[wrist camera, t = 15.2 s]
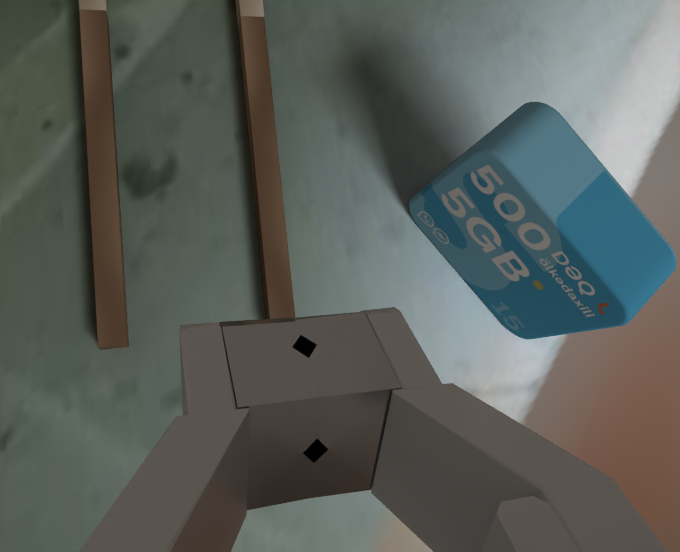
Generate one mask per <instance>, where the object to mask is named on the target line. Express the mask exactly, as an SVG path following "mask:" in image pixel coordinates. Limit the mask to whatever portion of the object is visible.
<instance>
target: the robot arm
mask: <svg viewBox="0 0 680 552" xmlns="http://www.w3.org/2000/svg"><path fill="white" fill-rule="evenodd" d="M179 334H180V359H181V384H182V404H183V416H178V417H176V418H175V419H174V421H173V422H172V423H171V425H170V426H169V428H168V429H167V430H166V432H165V433H164V434H163V436H162V437H161V439H160V440H159V441H158V443H157V444H156V446H155V447H154V448H153V450H152V451H151V452H150V454H149V455H148V457H147V458H146V459H145V461H144V462H143V464H142V465H141V466H140V468H139V469H138V470H137V472H136V473H135V475H134V476H133V477H132V479H131V480H130V482H129V483H128V484H127V486H126V487H125V489H124V490H123V491H122V493H121V494H120V495H119V497H118V498H117V500H116V501H115V502H114V504H113V505H112V507H111V508H110V509H109V511H108V512H107V513H106V515H105V516H104V518H103V519H102V520H101V522H100V523H99V525H98V526H97V527H96V529H95V530H94V531H93V533H92V534H91V536H90V537H89V538H88V540H87V541H86V543H85V544H84V545H83V547H82V548H81V550H80V551H79V552H231V550H232V547H233V545H234V543H235V540H236V538H237V536H238V533H239V531H240V529H241V526H242V524H243V522H244V519H245V517H246V515H247V510H251V509H256V508H261V507H266V506H271V505H277V504H282V503H287V502H292V501H297V500H302V499H308V498H314V497H322V496H329V495H336V494H344V493H351V492H358V491H366V490H372V492H371V493H372V494H373V495H374V496H375V497H376V498H377V499H378V500H380V501H381V502H382V503H383V504H384V505H385V506H386V507H387V508H388V509H389V510H390V511H391V512H392V513H393V514H394V515H395V516H396V517H398V518H399V519H400V520H401V521H402V522H403V523H404V524H405V525H406V526H407V527H408V528H409V529H410V530H411V531H412V532H413V533H415V534H416V535H417V536H418V537H419V538H420V539H421V540H422V541H423V542H424V543H425V544H426V545H427V546H428V547H429V548H430V549H432V550H433V551H434V552H667V550H666V549H665V548H664V546H663V545H662V544H661V542H660V541H659V540H658V538H657V537H656V535H655V534H654V533H653V531H652V530H651V529H650V527H649V526H648V525H647V523H646V522H645V521H644V519H643V518H642V517H641V515H640V514H639V513H638V511H637V510H636V509H635V507H634V506H633V505H632V503H631V502H630V501H629V499H628V498H627V497H626V495H625V494H624V493H623V491H622V490H621V489H620V487H619V486H618V484H617V483H616V482H615V480H614V479H613V478H611V477H609V476H607V475H606V474H604V473H602V472H601V471H599V470H597V469H596V468H594V467H592V466H591V465H589V464H587V463H586V462H584V461H582V460H581V459H579V458H577V457H575V456H574V455H572V454H570V453H569V452H567V451H565V450H564V449H562V448H560V447H558V446H557V445H555V444H553V443H552V442H550V441H548V440H547V439H545V438H544V437H542V436H540V435H538V434H537V433H535V432H533V431H532V430H530V429H528V428H527V427H525V426H523V425H522V424H520V423H518V422H517V421H515V420H513V419H512V418H510V417H508V416H507V415H505V414H503V413H502V412H500V411H498V410H496V409H495V408H493V407H491V406H490V405H488V404H486V403H485V402H483V401H481V400H480V399H478V398H476V397H475V396H473V395H471V394H470V393H468V392H466V391H464V390H463V389H461V388H459V387H458V386H456V385H454V384H453V383H451V384H442V383H441V381H440V379H439V378H438V376H437V374H436V372H435V371H434V369H433V367H432V365H431V364H430V362H429V360H428V359H427V357H426V355H425V353H424V352H423V350H422V348H421V346H420V345H419V343H418V341H417V340H416V338H415V336H414V334H413V333H412V331H411V329H410V327H409V326H408V324H407V322H406V320H405V319H404V317H403V315H402V314H401V312H400V311H399V310H398V309H396V308H395V307H392V308H382V309H373V310H364V311H361V312H354V313H343V314H331V315H320V316H309V317H297V318H277V319H260V320H244V321H228V322H220V323H219V324H218V322H217V323H203V324H189V325H180V332H179Z"/></svg>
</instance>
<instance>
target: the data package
mask: <svg viewBox="0 0 680 552" xmlns="http://www.w3.org/2000/svg"><path fill="white" fill-rule="evenodd" d="M409 210H410V214H411V216H412V218H413V220H414V221H415V223H416V224H417V225H418V226H419V228H420V229H421V230H422V231H423V232H424V233H425V235H426V236H427V237H428V238H429V239H430V240H431V242H432V243H433V244H434V245H435V246H436V247H437V249H438V250H439V251H440V252H441V253H442V254H443V256H444V257H445V258H446V259H447V260H448V261H449V263H450V264H451V265H452V266H453V267H454V268H455V270H456V271H457V272H458V273H459V274H460V275H461V277H462V278H463V279H464V280H465V281H466V282H467V284H468V285H469V286H470V287H471V288H472V289H473V291H474V292H475V293H476V294H477V295H478V296H479V298H480V299H481V300H482V301H483V302H484V303H485V305H486V306H487V307H488V308H489V309H490V310H491V312H492V313H493V314H494V315H495V316H496V317H497V319H498V320H499V321H500V322H501V323H502V324H503V325H504V326H505V327H506V328H507V329H508V330H509V331H510V332H512V333H513V334H515V335H516V336H518V337H521V338H524V339H535V338H542V337H549V336H556V335H562V334H569V333H576V332H582V331H590V330H596V329H602V328H610V327H617V326H622V325H625V324H627V323H628V322H629V321H630V320H631V319H632V318H633V317H634V316H635V315H636V314H637V312H638V311H639V310H640V309H641V308H642V307H643V306H644V304H645V303H646V302H647V301H648V300H649V299H650V297H652V295H653V294H654V293H655V292H656V291H657V290H658V289H659V287H660V286H661V285H662V284H663V283H664V282H665V281H666V279H667V278H668V277H669V276H670V275H671V274H672V273H673V271H674V270H675V268H676V264H677V260H676V256H675V252H674V250H673V249H672V247H671V246H670V244H669V243H668V242H667V241H666V240H665V238H664V237H663V236H662V235H661V234H660V233H659V231H658V230H657V229H656V228H655V226H654V225H653V224H652V223H651V222H650V220H649V219H648V218H647V217H646V216H645V215H644V213H643V212H642V211H641V210H640V209H639V207H638V206H637V205H636V204H635V203H634V201H633V200H632V199H631V198H630V197H629V195H628V194H627V193H626V192H625V191H624V189H623V188H622V187H621V186H620V185H619V184H618V182H617V181H616V180H615V179H614V178H613V176H612V175H611V174H610V173H609V172H608V170H607V169H606V168H605V167H604V166H603V164H602V163H601V162H600V161H599V160H598V159H597V157H596V156H595V155H594V154H593V153H592V151H591V150H590V149H589V148H588V147H587V145H586V144H585V143H584V142H583V141H582V139H581V138H580V137H579V136H578V135H577V133H576V132H575V131H574V130H573V129H572V128H571V126H570V125H569V124H568V123H567V122H566V120H565V119H564V118H563V117H562V116H561V115H560V114H559V113H558V112H557V111H556V110H555V109H554V108H552V107H550V106H549V105H547V104H544V103H540V102H529V103H526V104H524V105H522V106H521V107H520V108H519V109H517V110H516V111H515V112H514V113H512V114H511V115H510V116H509V117H508V118H506V119H505V120H504V121H503V122H501V123H500V124H499V125H498V126H497V127H495V128H494V129H493V130H492V131H490V132H489V133H488V134H487V135H485V136H484V137H483V138H482V139H481V140H479V141H478V142H477V143H476V144H474V145H473V146H472V147H471V148H470V149H468V150H467V151H466V152H465V153H463V154H462V155H461V156H460V157H458V158H457V159H456V160H455V161H454V162H452V163H451V164H450V165H449V166H448V167H447V168H446V169H444V170H443V171H442V172H441V173H440V174H439V175H438V176H436V177H435V178H434V179H433V180H432V181H431V182H430V183H428V184H427V185H426V186H425V187H424V188H423V189H422V190H420V191H419V192H418V193H417V194H416V195H415V196H414V197H412V199H411V200H410V202H409Z"/></svg>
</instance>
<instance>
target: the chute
mask: <svg viewBox="0 0 680 552" xmlns="http://www.w3.org/2000/svg"><path fill="white" fill-rule="evenodd" d="M236 11H237V21H238V32H239V42H240V53H241V63H242V74H243V84H244V94H245V105H246V115H247V126H248V136H249V147H250V157H251V167H252V178H253V188H254V199H255V209H256V220H257V230H258V240H259V251H260V261H261V272H262V282H263V293H264V303H265V314H266V319H277V318H295V311H294V302H293V292H292V282H291V272H290V263H289V253H288V243H287V233H286V224H285V214H284V204H283V195H282V185H281V175H280V165H279V156H278V146H277V136H276V126H275V117H274V107H273V97H272V87H271V78H270V68H269V58H268V49H267V39H266V29H265V19H264V10H263V0H236ZM79 13H80V31H81V49H82V67H83V85H84V103H85V121H86V138H87V156H88V174H89V192H90V210H91V228H92V246H93V264H94V282H95V300H96V318H97V336H98V348H99V349H111V348H122V347H129V341H128V325H127V310H126V294H125V278H124V262H123V246H122V230H121V214H120V198H119V182H118V166H117V151H116V135H115V119H114V103H113V87H112V71H111V55H110V39H109V23H108V8H107V0H79Z"/></svg>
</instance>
